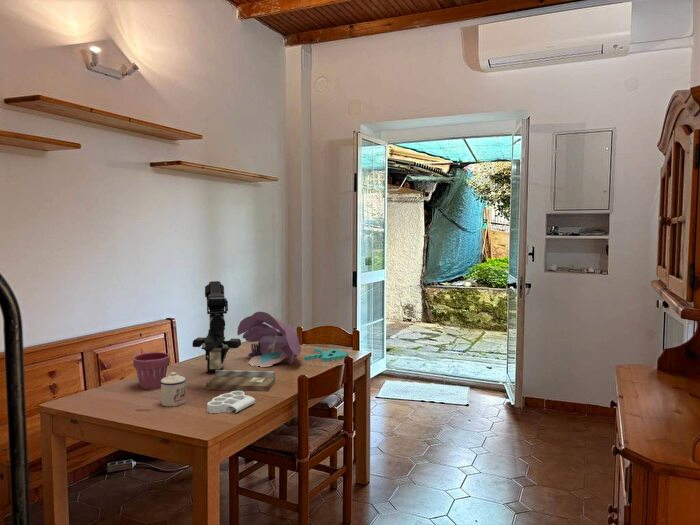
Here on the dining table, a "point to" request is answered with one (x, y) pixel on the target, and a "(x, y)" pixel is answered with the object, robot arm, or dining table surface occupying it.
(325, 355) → the alien figure
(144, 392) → the dining table surface
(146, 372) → the plant pot
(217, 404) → the white muffin tray
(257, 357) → the mauve curved piece
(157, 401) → the dining table surface
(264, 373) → the walnut board
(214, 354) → the block
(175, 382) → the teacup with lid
